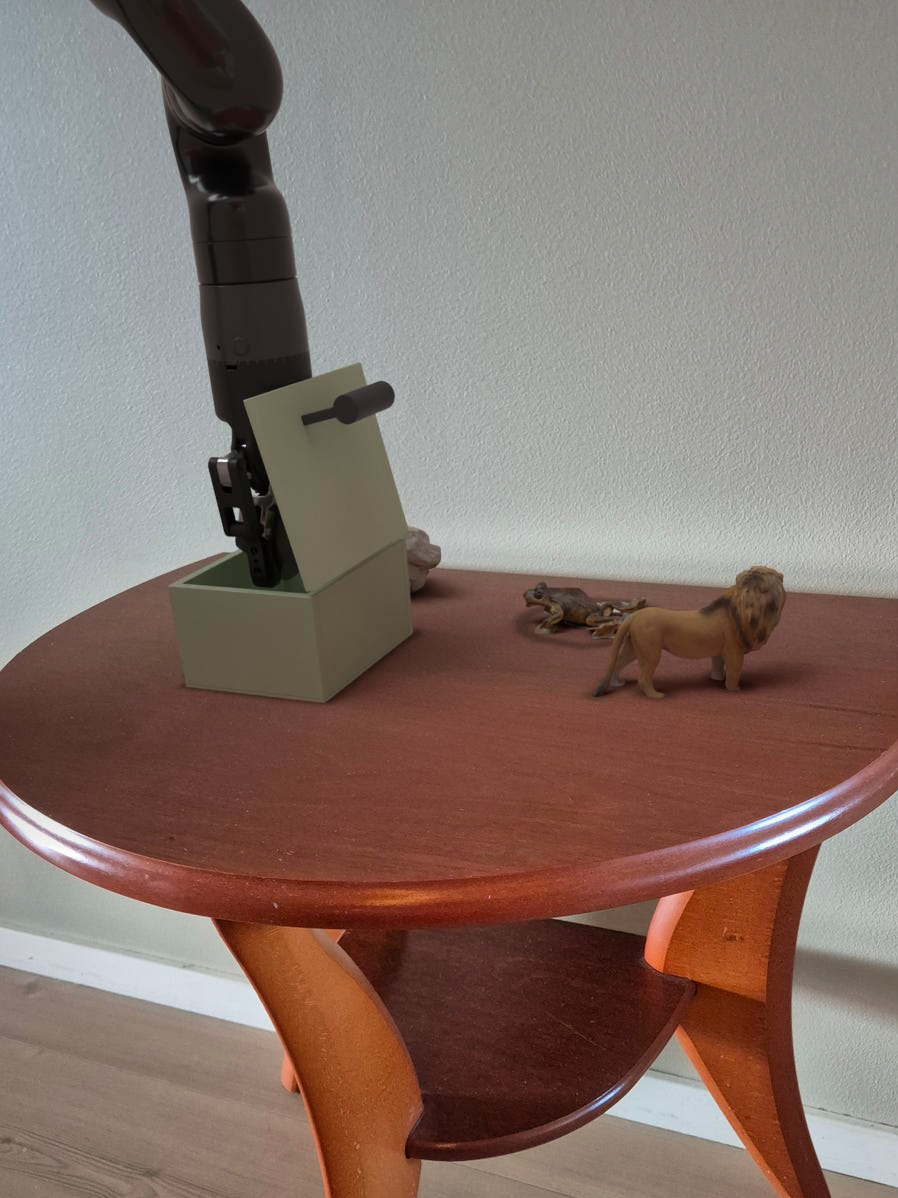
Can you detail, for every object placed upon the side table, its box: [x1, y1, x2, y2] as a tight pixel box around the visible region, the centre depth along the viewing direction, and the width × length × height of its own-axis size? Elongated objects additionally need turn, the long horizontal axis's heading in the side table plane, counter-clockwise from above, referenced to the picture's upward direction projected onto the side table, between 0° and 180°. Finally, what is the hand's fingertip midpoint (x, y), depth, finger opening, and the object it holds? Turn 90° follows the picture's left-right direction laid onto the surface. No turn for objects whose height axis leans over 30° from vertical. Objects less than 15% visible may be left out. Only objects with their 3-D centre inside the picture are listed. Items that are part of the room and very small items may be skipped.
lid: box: [243, 361, 409, 592], centre depth 88 cm, size 14×16×6 cm
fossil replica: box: [400, 524, 442, 594], centre depth 112 cm, size 12×8×10 cm
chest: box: [167, 538, 414, 704], centre depth 96 cm, size 13×16×9 cm
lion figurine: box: [592, 565, 787, 699], centre depth 87 cm, size 15×5×9 cm, turn 102°
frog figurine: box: [522, 581, 649, 640], centre depth 102 cm, size 12×12×4 cm
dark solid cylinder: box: [234, 493, 299, 580], centre depth 93 cm, size 6×6×4 cm
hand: (288, 572), depth 95 cm, fingers closed on dark solid cylinder, 6 cm apart
